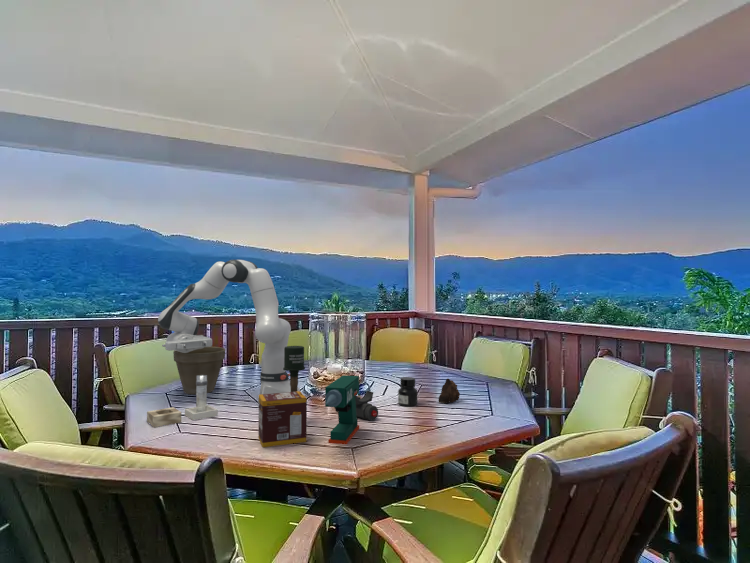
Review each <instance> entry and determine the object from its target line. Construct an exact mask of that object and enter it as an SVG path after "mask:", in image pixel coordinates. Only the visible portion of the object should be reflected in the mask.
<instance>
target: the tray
mask: <svg viewBox="0 0 750 563" xmlns="http://www.w3.org/2000/svg"><path fill="white" fill-rule="evenodd" d="M184 416H186V417H187V418H188V419H190V420H191V421H199V420H203V419H208V418H209V419H210V418H215V417H218V416H219V410H218V408H216V407H214V406H212V405H209V404H207V406H206V411H204V412H199V413H196V406H195V407H189V408H185V409H184Z"/></svg>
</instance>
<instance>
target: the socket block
mask: <svg viewBox="0 0 750 563" xmlns="http://www.w3.org/2000/svg"><path fill="white" fill-rule="evenodd" d="M146 411H147V410H146ZM146 422H147V423H148V424H149V423H150V424H151V426H152V427H153V428H159V426H160V427H164V426H163V425H165V426H169V424H170V425H175V423H176V424H180V423H182V411H180V410H178V409H177V408H175V407H174V406H172V407H166V408H159V409H154V410H150V411H149V410H148V411H147V412H146ZM150 424H149V425H150Z"/></svg>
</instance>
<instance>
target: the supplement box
mask: <svg viewBox="0 0 750 563" xmlns="http://www.w3.org/2000/svg"><path fill="white" fill-rule="evenodd" d="M300 391H301V390H300ZM300 391H296V392H285V393H274V394H260V393H259V394H258V399H259V404H258V432H257V433H258V434H257V435H258V436H257V438H258V441H259V443H260V445H261V447H262V448H268V447H270V448H271V447H277V446H285V445H294V444H300V443H306V442H307V439H308V438H307V432H308V431H307V428H308V426H307V421H308V420H307V419H308V418H307V417H308V416H307V414H308V413H307V412H308V411H307V410H308V409H307V408H308V404H307V403H308V401H307V399H308V397H306V396H305V395H304V394H303V393H302V391H301V392H300ZM293 443H294V444H293Z"/></svg>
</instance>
